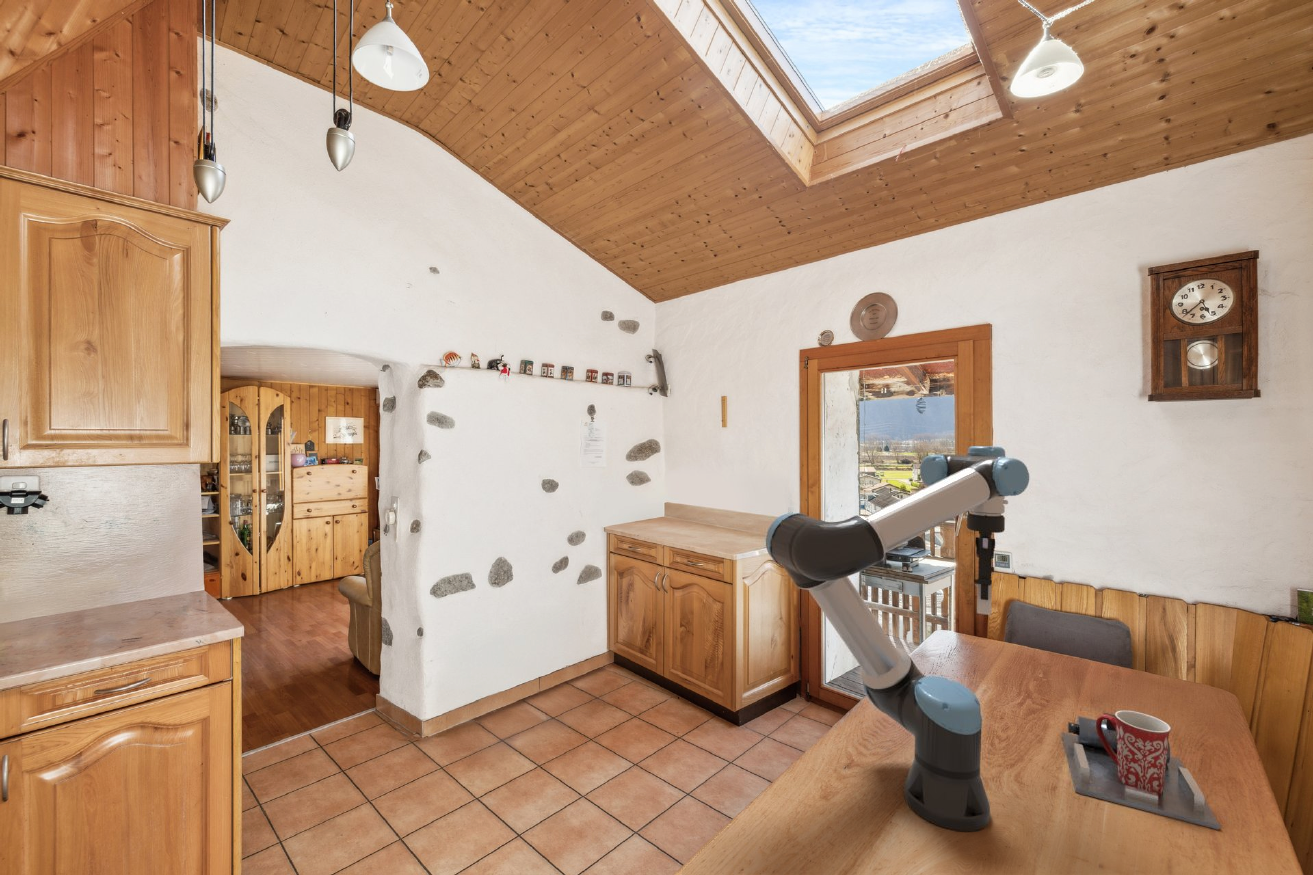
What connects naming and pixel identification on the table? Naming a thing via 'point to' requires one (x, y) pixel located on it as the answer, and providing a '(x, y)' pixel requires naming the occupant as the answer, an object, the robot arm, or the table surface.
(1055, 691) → the table surface
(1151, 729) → the mug
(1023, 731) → the table surface
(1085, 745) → the plate
